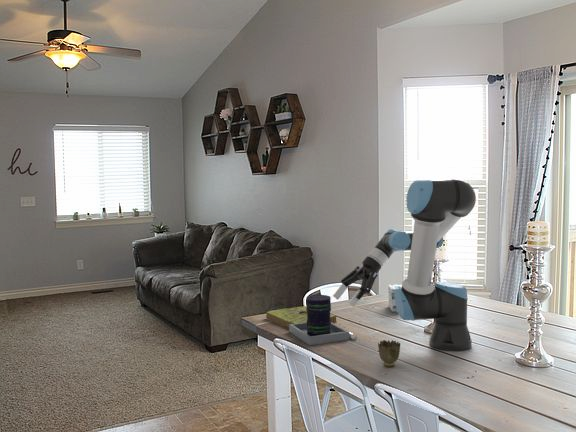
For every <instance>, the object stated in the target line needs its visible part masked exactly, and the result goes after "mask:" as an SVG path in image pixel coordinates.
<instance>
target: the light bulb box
mask: <svg viewBox="0 0 576 432" xmlns="http://www.w3.org/2000/svg"><path fill="white" fill-rule="evenodd" d="M401 288H402V284H388V308H389V310H390V311H391V312H395V313H396V312H397V309H396V304H395V291H396V290H397V289H401ZM397 313H398V312H397Z"/></svg>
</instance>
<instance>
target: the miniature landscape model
mask: <svg viewBox="0 0 576 432" xmlns="http://www.w3.org/2000/svg"><path fill="white" fill-rule="evenodd" d="M306 309H307V307H306V305H304V306H301V305H300V306H297V307H296V306H295V307H291V308H281V309H273V310H269V311H267V312H266V315H265V319H266V318H267V319H266V320H268V319H269V321H270V320H271V322H274V323H276V324H278V325H280V326H283V327H285V326H286V328H288V327H289V324H296V323H304V322H307V310H306ZM330 320H331V322H332V323H334V324H336V323H337V315H336V314H332V313H331V312H330Z"/></svg>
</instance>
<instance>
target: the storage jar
mask: <svg viewBox="0 0 576 432" xmlns="http://www.w3.org/2000/svg"><path fill="white" fill-rule="evenodd" d="M331 298H332V297H331V296H330V295H327V294H311V295H308V296H306V301H305V302H306V304H305V306H306V307H307V309H306V310H307V322H306V323H307V334H308V335H309V336H317V335H324V334H331V320H330V313H331V311H332V301H331V300H332V299H331Z"/></svg>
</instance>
